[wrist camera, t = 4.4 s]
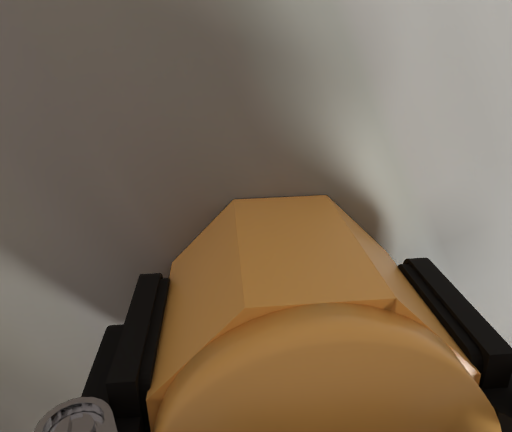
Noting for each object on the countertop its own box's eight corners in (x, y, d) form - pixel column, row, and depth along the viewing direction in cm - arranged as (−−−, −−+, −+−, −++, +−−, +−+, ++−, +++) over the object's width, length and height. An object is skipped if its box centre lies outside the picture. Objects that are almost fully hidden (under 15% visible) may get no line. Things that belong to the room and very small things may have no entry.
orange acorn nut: (391, 191, 12) (540, 328, 6) (373, 368, 14) (471, 579, 9) (165, 202, 12) (120, 358, 6) (184, 382, 14) (164, 613, 8)
